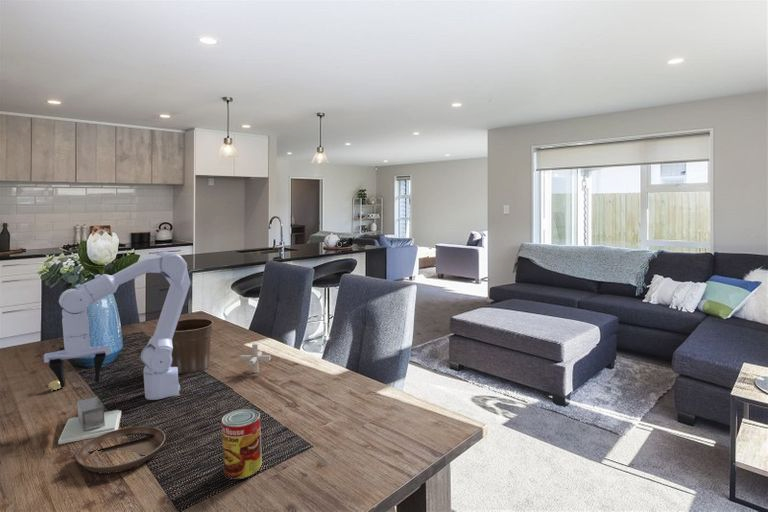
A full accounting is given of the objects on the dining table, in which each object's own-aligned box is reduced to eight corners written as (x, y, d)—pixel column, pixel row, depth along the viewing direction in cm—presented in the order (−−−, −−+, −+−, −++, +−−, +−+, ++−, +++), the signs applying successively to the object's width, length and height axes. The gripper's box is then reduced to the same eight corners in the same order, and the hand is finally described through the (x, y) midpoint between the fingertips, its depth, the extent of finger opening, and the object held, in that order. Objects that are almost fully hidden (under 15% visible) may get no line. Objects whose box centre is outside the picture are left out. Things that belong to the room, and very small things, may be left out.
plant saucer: (178, 436, 112) (177, 424, 112) (143, 479, 95) (142, 465, 94) (106, 437, 112) (105, 426, 111) (57, 481, 94) (56, 467, 94)
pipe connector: (266, 377, 150) (265, 348, 149) (236, 377, 150) (235, 348, 149) (274, 367, 160) (273, 339, 159) (246, 366, 160) (245, 339, 159)
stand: (121, 417, 122) (121, 408, 122) (117, 437, 111) (116, 427, 111) (68, 426, 117) (67, 417, 116) (58, 449, 106) (57, 439, 106)
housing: (105, 426, 112) (103, 407, 111) (83, 432, 109) (82, 412, 108) (98, 413, 119) (97, 395, 118) (78, 419, 116) (76, 400, 115)
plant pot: (204, 377, 151) (201, 330, 149) (156, 377, 151) (153, 330, 149) (222, 360, 167) (220, 318, 165) (179, 360, 167) (177, 318, 165)
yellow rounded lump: (59, 387, 143) (49, 391, 140) (58, 378, 143) (47, 382, 140) (65, 388, 141) (54, 391, 139) (63, 379, 141) (53, 382, 139)
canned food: (216, 471, 97) (214, 418, 95) (247, 455, 103) (245, 405, 102) (238, 485, 92) (235, 429, 91) (269, 467, 98) (267, 415, 97)
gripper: (109, 327, 125) (113, 373, 127) (46, 334, 119) (50, 383, 120) (107, 333, 119) (111, 382, 121) (40, 341, 113) (44, 392, 114)
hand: (80, 383), depth 120 cm, fingers open, 7 cm apart
